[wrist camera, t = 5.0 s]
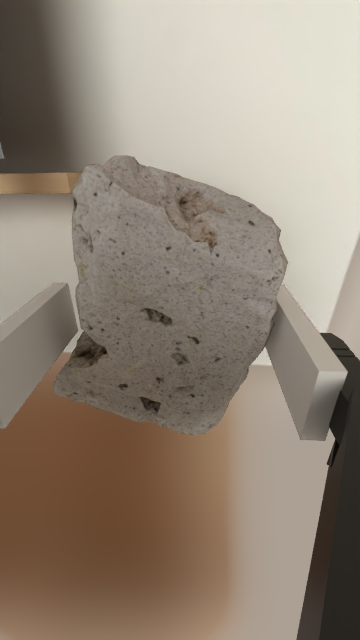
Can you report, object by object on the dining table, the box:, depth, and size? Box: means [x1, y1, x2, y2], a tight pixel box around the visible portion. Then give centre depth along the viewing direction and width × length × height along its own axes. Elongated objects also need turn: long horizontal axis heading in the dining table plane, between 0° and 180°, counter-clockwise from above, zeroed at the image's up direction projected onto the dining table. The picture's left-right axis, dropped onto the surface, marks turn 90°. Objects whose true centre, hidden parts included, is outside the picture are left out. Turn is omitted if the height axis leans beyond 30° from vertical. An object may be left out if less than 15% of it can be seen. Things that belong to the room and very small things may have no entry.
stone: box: [54, 156, 288, 435], centre depth 13 cm, size 13×6×10 cm
